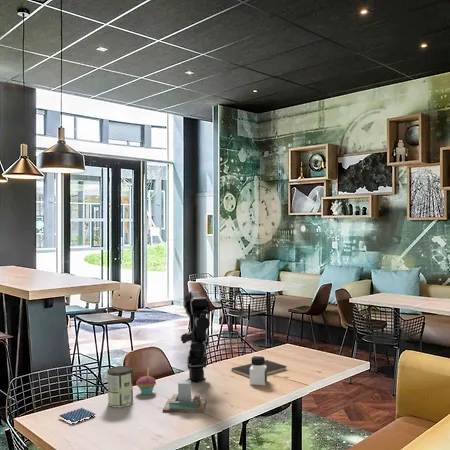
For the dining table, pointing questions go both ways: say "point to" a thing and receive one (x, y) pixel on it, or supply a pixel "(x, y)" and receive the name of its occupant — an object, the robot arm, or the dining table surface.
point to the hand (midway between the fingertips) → (200, 361)
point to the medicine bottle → (258, 371)
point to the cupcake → (146, 383)
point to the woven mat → (77, 415)
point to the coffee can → (120, 386)
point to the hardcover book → (271, 366)
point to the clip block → (184, 390)
